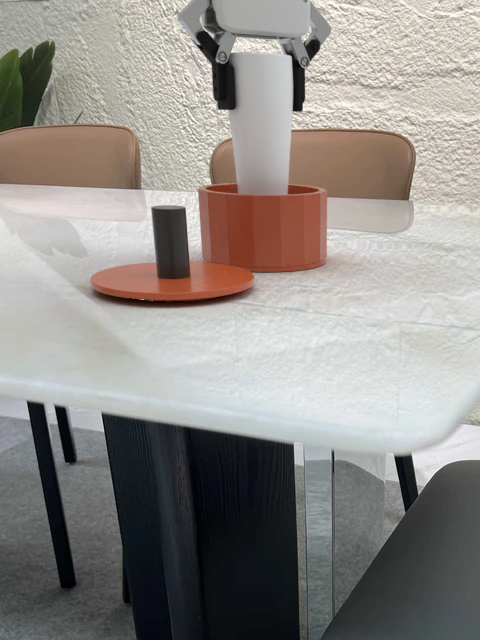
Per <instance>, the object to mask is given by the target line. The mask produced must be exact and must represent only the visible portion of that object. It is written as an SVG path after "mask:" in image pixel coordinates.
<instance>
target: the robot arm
mask: <svg viewBox="0 0 480 640" xmlns="http://www.w3.org/2000/svg"><path fill="white" fill-rule="evenodd" d="M200 18H201V19H200ZM177 20H178V22H179V24H180V25H181V26H182V28H183V29H184V31H185V32H186V33H187V35H188V36H189V37H190V38H191V39H192V42H193V44H194V46H196V48H197V49H198V50H199V51H200V52H201V53H202V55H204V57H205V58H206V61H207V63H208V64H210V65H211V77H212V79H211V80H212V94H213V95H212V96H213V99H214V101H215V102H216V107H217V109H218V110H221V111H228V110H234V109H235V108H236V101H235V77H234V67H233V64H229V56H230V53H232V51H233V48H234V45H235V43H236V39H237V38H244V39H245V38H246V39H257V40H275V41H278V44H279V46H280V48H281V51H282V54H284V55H290V56H291V57H292V67H293V112H294V113H302V112H303V109H304V103H305V101H306V69H308V68H309V67H310V65H311V62H312V60H313V59H314V58H315V56H316V55H317V54H318V53H319V51H320V50H321V47H322V45H324V43H325V41H326V40H327V39H328V37H329V36H330V35H331V34H332V33H331V32H332V26H331V24H330V23H329V22H328V20H327V19H326V17H324V16H323V14H322V13H321V11H320V10H319V9H318V8H317V7H316V5H315V4H314V3H313V2H312V1H311V0H190V1H189V2H188V3H187V4H186V5H185V6H184V7H183V8H182V9H181V11H180V12H179V13H178V14H177ZM200 20H201V21H200ZM309 30H311V31H310V34H309V35H308V38H307V39H306V40H304V41H303V39H302V37H304V36H305V35H307V34H308V32H309ZM211 34H212V35H213V36H212V35H211Z"/></svg>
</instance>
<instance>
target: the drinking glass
mask: <svg viewBox="0 0 480 640" xmlns="http://www.w3.org/2000/svg"><path fill="white" fill-rule="evenodd" d="M229 64H233V67H234V77H235V101H236V108H235V109H234V110H227V111H228V119H229V128H230V136H231V144H232V151H233V159H234V169H235V176H236V177H235V178H236V183H237V187H238V194H252V195H288V184H289V182H290V181H289V179H290V178H289V177H290V160H291V148H292V147H291V145H292V128H293V114H294V113H293V67H292V57H291V56H290V55H284V53H269V52H241V51H240V52H231V53H230V56H229Z"/></svg>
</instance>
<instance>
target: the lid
mask: <svg viewBox="0 0 480 640" xmlns="http://www.w3.org/2000/svg"><path fill="white" fill-rule="evenodd" d="M150 210H151V212H150V213H151V222H152V224H151V225H152V235H153V243H154V244H153V245H154V254H155V256H154V257H155V261H154V262H152V261H151V262H140V263H131V264H123V265H117V266H113V267H109V268H106V269H102V270H100V271H98V272H97V271H96V272H95V273H93V275H91V277H90V284H91V288H92V289H93V290H94V291H97V292H98V293H100V294H105V295H107V296H112V297H117V298H124V299H129V298H132V299H131V300H134V299H144V300H153V301H166V302H165V303H172V302H171V301H180V302H179V303H182V302H181V301H186V302H196V300H198V301H204V300H211V299H216V298H220V297H223V296H229V295H233V294H236V293H240V292H243V291H246V290H249V289H250V288H252V287H253V285H254V284H255V275H254V272H250V271H248V270H246V269H243V268H240V267H236V266H231V265H225V264H217V263H206V262H203V261H190V247H189V236H188V222H187V221H188V219H187V207H185V206H183V205H174V204H173V205H172V204H171V205H170V204H163V205H162V204H161V205H153V206H151V207H150ZM153 301H152V302H153Z"/></svg>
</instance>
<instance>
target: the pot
mask: <svg viewBox="0 0 480 640" xmlns="http://www.w3.org/2000/svg"><path fill="white" fill-rule="evenodd" d="M197 195H198V197H197V198H198V210H199V226H200V228H199V229H200V240H201V241H200V242H201V257H202V262H206V263H217V264H225V265H231V266H236V267H240V268H243V269H246V270H248V271H250V272H251V273H284V272H285V273H286V272H297V271H304V270H311V269H315V268H318V267H319V268H320V267H321V266H323V265H325V264H326V262H327V261H326V260H327V258H328V190H326V188H324V187H320V186H319V187H318V186H314V185H303V184H295V183H288V195H252V194H238V187H237V182H231V183H230V182H226V183H218V184H217V183H216V184H215V183H213V184H206V185H201V186H198V188H197Z"/></svg>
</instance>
